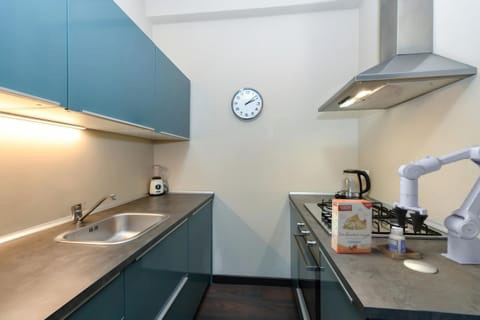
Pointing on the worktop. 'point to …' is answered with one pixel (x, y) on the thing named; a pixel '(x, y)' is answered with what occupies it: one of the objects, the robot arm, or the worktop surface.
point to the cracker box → (351, 226)
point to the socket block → (411, 254)
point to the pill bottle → (396, 241)
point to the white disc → (420, 266)
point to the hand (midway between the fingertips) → (408, 228)
